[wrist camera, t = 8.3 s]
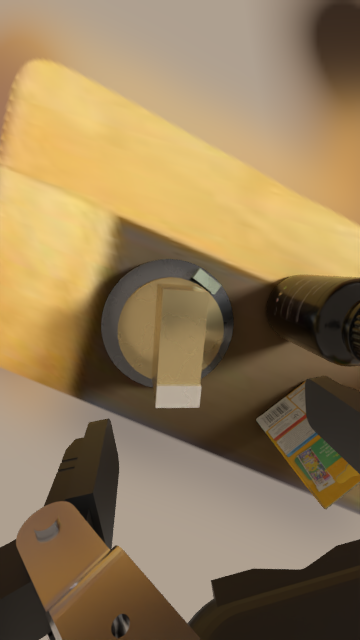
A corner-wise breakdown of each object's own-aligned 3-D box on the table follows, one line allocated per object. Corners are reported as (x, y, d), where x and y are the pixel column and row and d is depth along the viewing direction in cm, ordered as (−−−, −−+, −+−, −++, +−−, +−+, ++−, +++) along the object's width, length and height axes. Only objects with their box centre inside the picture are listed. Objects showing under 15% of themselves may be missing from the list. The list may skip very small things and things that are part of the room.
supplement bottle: (336, 293, 29) (469, 314, 18) (302, 349, 30) (407, 404, 18) (286, 260, 28) (395, 260, 16) (251, 320, 28) (331, 361, 17)
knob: (120, 273, 23) (114, 278, 17) (223, 280, 25) (255, 287, 18) (116, 374, 25) (109, 415, 18) (213, 375, 26) (239, 413, 20)
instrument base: (154, 232, 25) (156, 228, 22) (249, 309, 28) (263, 314, 25) (77, 336, 26) (70, 346, 23) (178, 400, 29) (183, 416, 26)
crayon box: (268, 436, 32) (340, 533, 20) (254, 418, 31) (322, 509, 20) (319, 397, 32) (419, 473, 20) (306, 379, 31) (404, 446, 20)
